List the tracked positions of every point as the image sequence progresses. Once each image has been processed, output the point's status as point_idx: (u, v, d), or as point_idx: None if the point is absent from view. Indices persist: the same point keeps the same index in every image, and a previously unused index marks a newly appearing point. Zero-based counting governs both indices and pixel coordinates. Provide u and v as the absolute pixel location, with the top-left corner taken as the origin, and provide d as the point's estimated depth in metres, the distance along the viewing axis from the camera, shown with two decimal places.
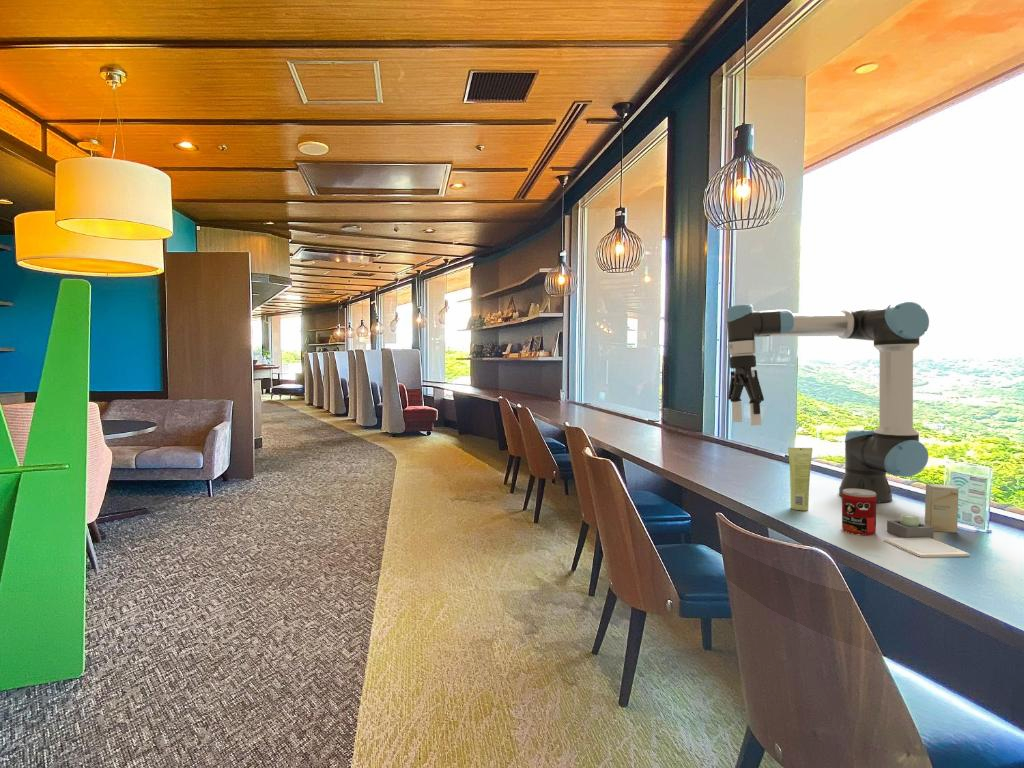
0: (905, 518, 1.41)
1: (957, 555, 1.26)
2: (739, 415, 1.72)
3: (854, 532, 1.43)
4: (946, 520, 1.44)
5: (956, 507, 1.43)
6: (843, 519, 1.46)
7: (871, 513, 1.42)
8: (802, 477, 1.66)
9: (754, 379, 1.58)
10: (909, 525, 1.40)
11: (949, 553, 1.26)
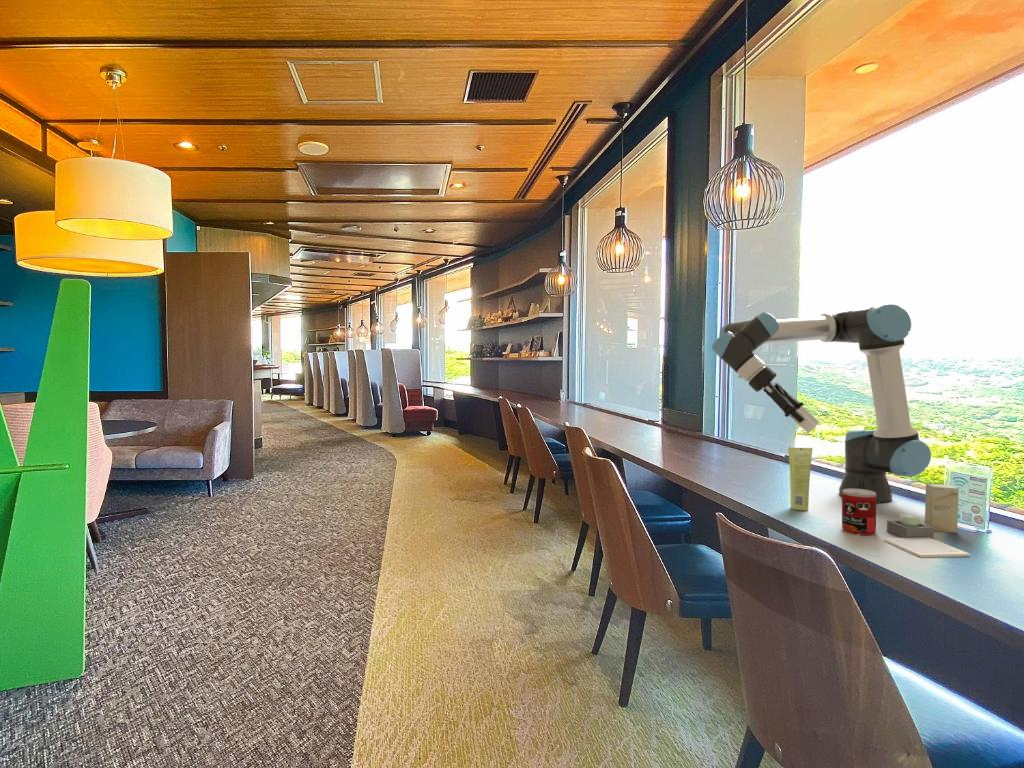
0: (905, 518, 1.41)
1: (957, 555, 1.26)
2: (812, 418, 1.57)
3: (854, 532, 1.43)
4: (946, 520, 1.44)
5: (956, 507, 1.43)
6: (843, 519, 1.46)
7: (871, 513, 1.42)
8: (802, 477, 1.66)
9: (773, 393, 1.50)
10: (909, 525, 1.40)
11: (949, 553, 1.26)
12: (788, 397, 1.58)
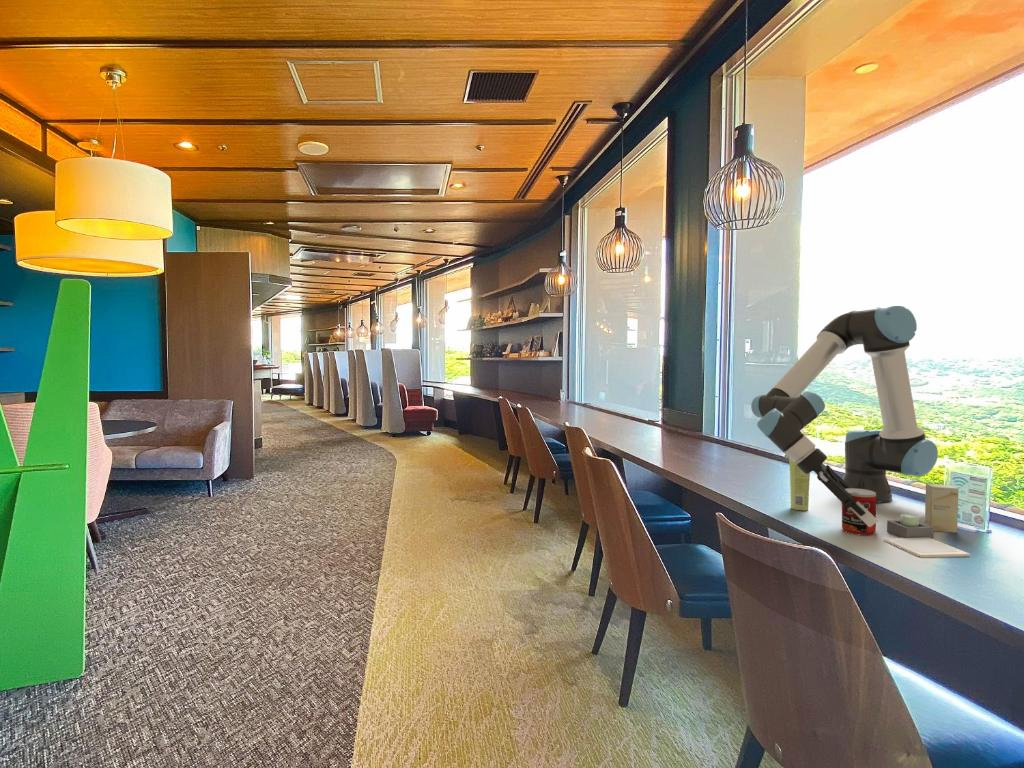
0: (905, 518, 1.41)
1: (957, 555, 1.26)
2: None
3: (854, 532, 1.43)
4: (946, 520, 1.44)
5: (956, 507, 1.43)
6: (843, 519, 1.46)
7: (871, 513, 1.42)
8: (802, 477, 1.66)
9: (830, 483, 1.43)
10: (909, 525, 1.40)
11: (949, 553, 1.26)
12: (840, 482, 1.50)
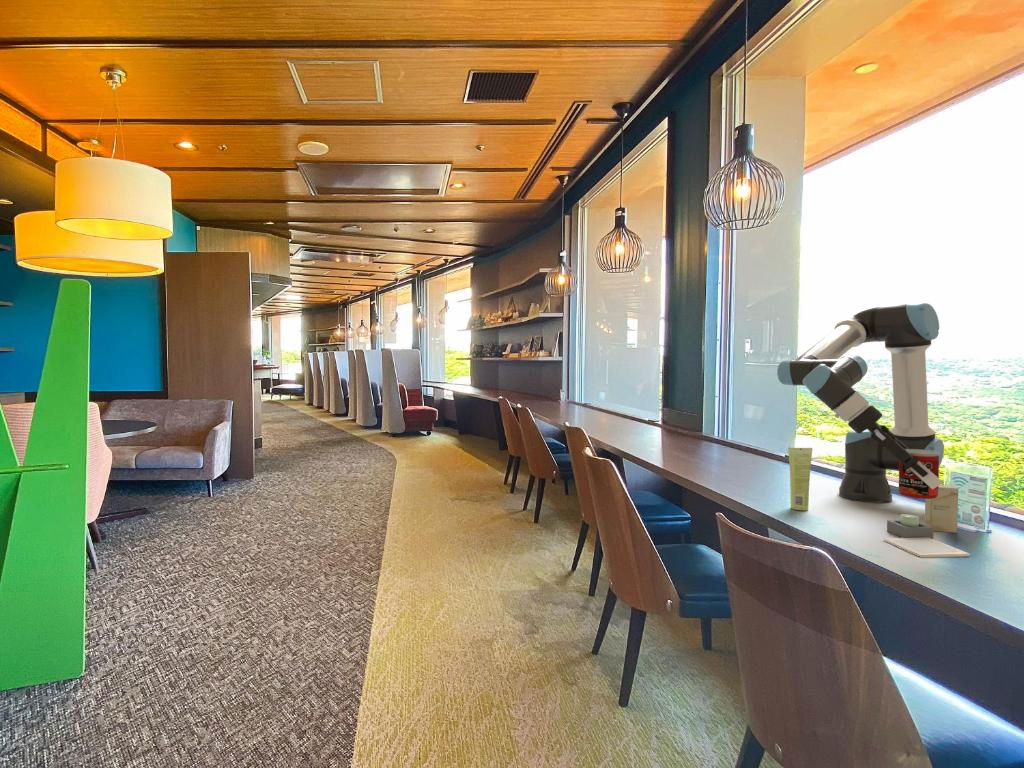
0: (905, 518, 1.41)
1: (957, 555, 1.26)
2: None
3: (914, 495, 1.30)
4: (946, 520, 1.44)
5: (956, 507, 1.43)
6: (901, 482, 1.33)
7: None
8: (802, 477, 1.66)
9: (887, 442, 1.30)
10: (909, 525, 1.40)
11: (949, 553, 1.26)
12: (897, 442, 1.36)
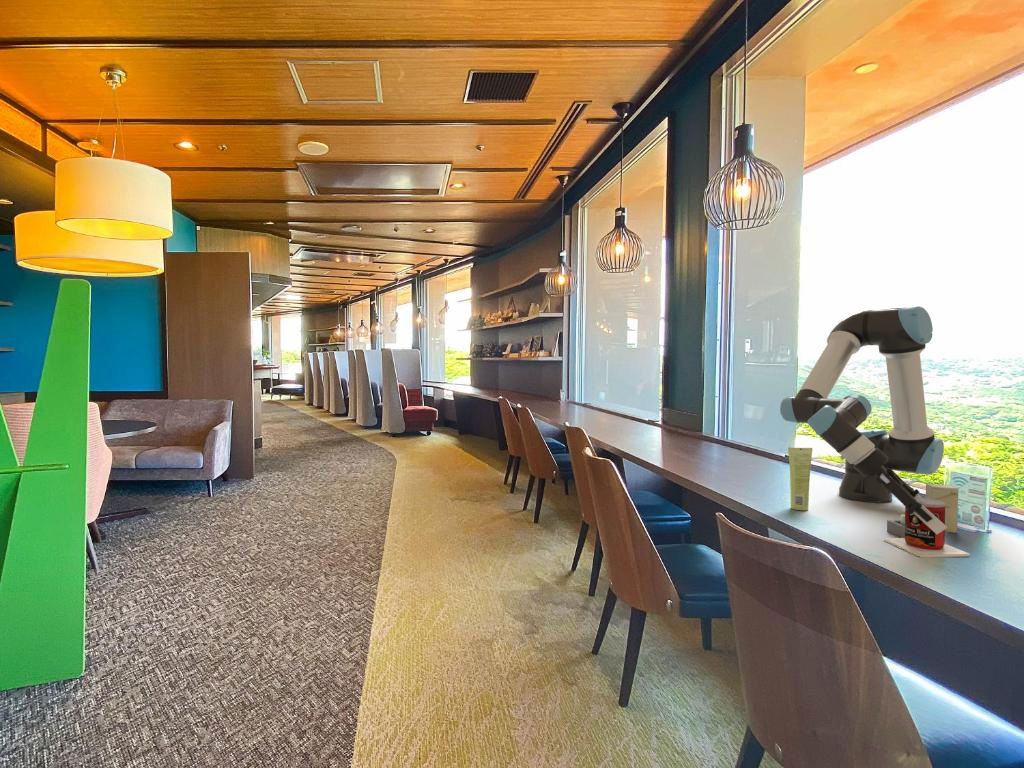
0: None
1: (957, 555, 1.26)
2: None
3: (920, 546, 1.29)
4: (946, 520, 1.44)
5: (956, 507, 1.43)
6: (907, 531, 1.32)
7: None
8: (802, 477, 1.66)
9: (892, 485, 1.29)
10: None
11: (949, 553, 1.26)
12: (901, 484, 1.37)
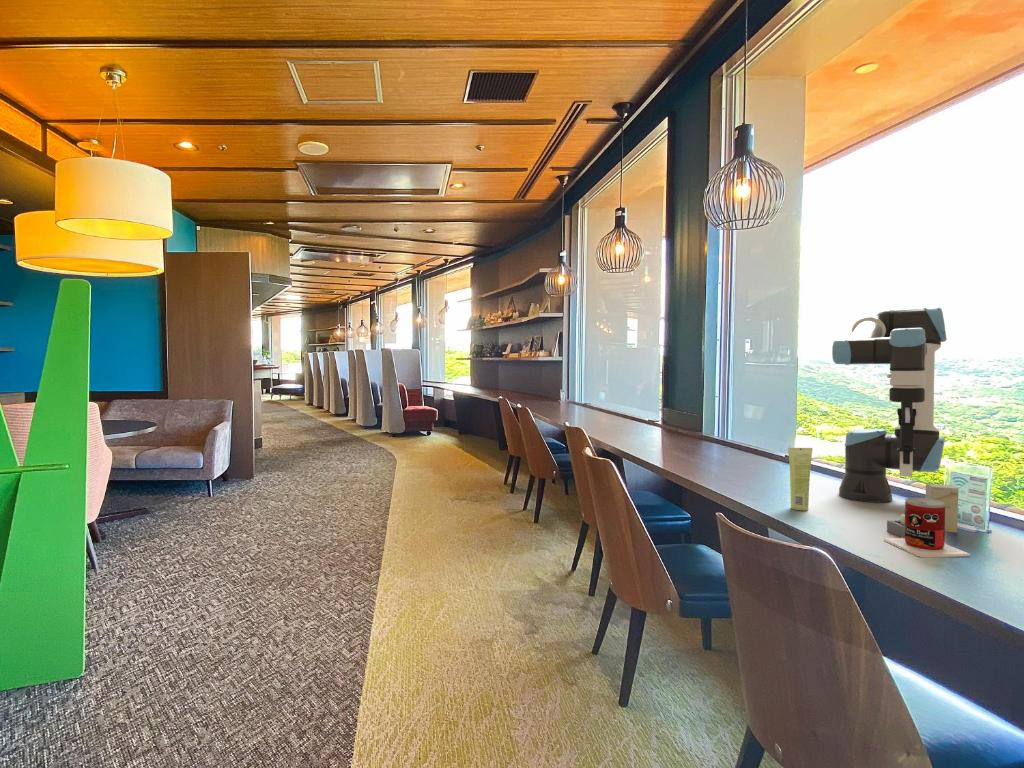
0: None
1: (957, 555, 1.26)
2: None
3: (920, 546, 1.30)
4: (946, 520, 1.44)
5: (956, 507, 1.43)
6: (907, 531, 1.32)
7: (940, 525, 1.28)
8: (802, 477, 1.66)
9: (907, 426, 1.37)
10: None
11: (949, 553, 1.26)
12: None
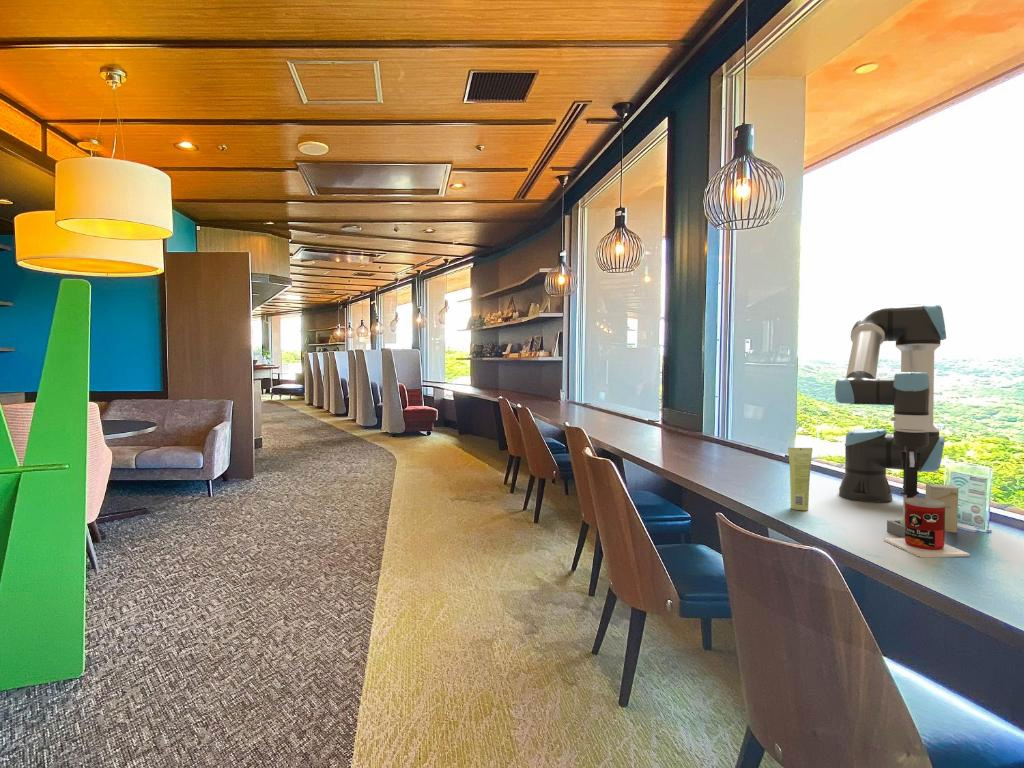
0: None
1: (957, 555, 1.26)
2: None
3: (920, 546, 1.30)
4: (946, 520, 1.44)
5: (956, 507, 1.43)
6: (907, 532, 1.32)
7: (940, 525, 1.28)
8: (802, 477, 1.66)
9: (912, 470, 1.37)
10: None
11: (949, 553, 1.26)
12: None
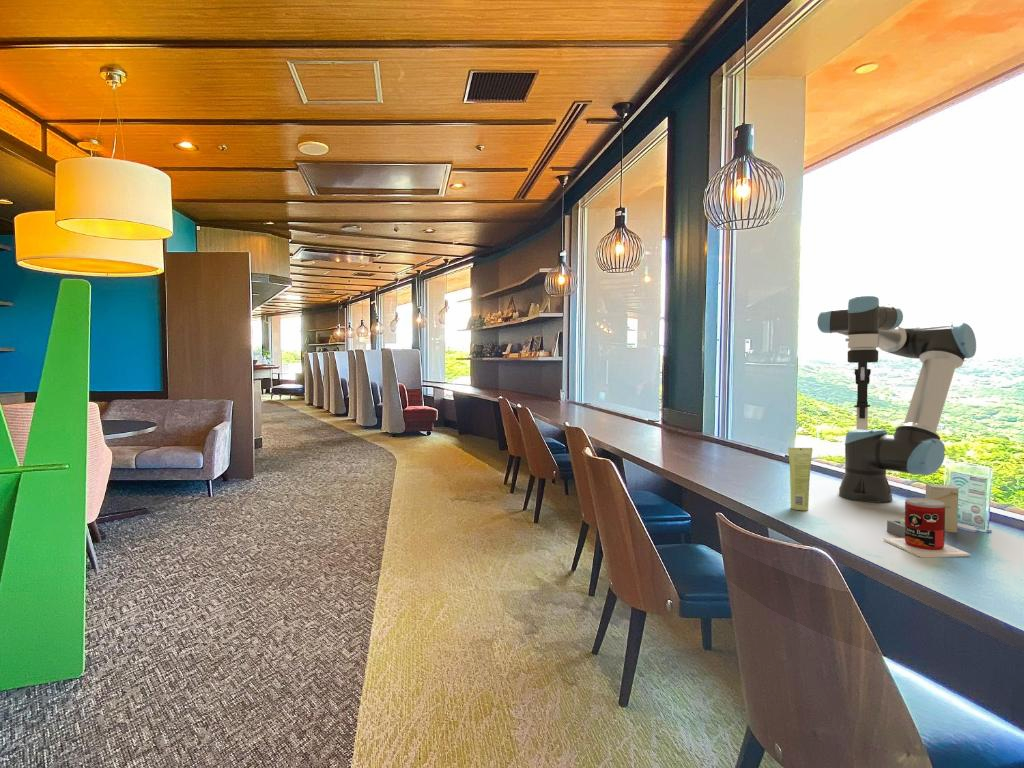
0: None
1: (957, 555, 1.26)
2: None
3: (920, 546, 1.30)
4: (946, 520, 1.44)
5: (956, 507, 1.43)
6: (907, 532, 1.32)
7: (940, 525, 1.28)
8: (802, 477, 1.66)
9: (862, 383, 1.52)
10: None
11: (949, 553, 1.26)
12: None
